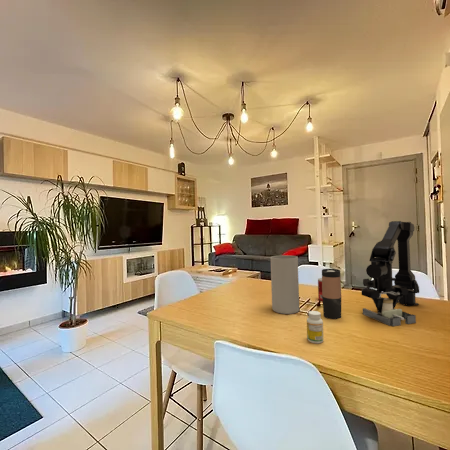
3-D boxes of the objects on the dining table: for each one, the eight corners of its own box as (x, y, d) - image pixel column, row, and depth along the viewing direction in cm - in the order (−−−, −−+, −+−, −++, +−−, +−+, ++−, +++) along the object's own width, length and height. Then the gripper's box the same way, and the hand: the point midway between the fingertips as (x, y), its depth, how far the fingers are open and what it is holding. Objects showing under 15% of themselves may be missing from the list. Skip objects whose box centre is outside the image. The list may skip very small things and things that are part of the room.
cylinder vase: (304, 309, 123) (302, 256, 123) (291, 316, 113) (289, 259, 113) (280, 304, 131) (279, 254, 131) (267, 310, 122) (265, 257, 122)
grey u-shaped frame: (385, 311, 116) (385, 304, 116) (417, 322, 102) (416, 315, 102) (362, 314, 114) (362, 307, 114) (391, 326, 99) (391, 318, 99)
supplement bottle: (320, 345, 86) (319, 316, 86) (304, 341, 90) (303, 313, 90) (325, 339, 90) (324, 312, 90) (310, 335, 94) (309, 309, 94)
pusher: (399, 317, 108) (399, 308, 108) (412, 322, 102) (412, 313, 102) (382, 319, 106) (381, 311, 106) (394, 324, 100) (393, 315, 100)
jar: (385, 312, 113) (384, 296, 113) (397, 317, 107) (396, 300, 107) (374, 313, 112) (373, 298, 112) (385, 318, 106) (384, 301, 106)
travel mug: (341, 314, 115) (339, 268, 115) (342, 320, 107) (341, 272, 107) (322, 312, 117) (321, 268, 117) (323, 318, 110) (321, 271, 110)
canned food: (336, 302, 131) (335, 280, 131) (319, 302, 133) (319, 280, 132) (333, 298, 138) (332, 277, 138) (317, 298, 140) (316, 277, 140)
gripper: (386, 270, 119) (387, 304, 119) (351, 273, 115) (352, 308, 115) (408, 274, 108) (409, 311, 108) (371, 278, 104) (372, 316, 104)
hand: (385, 311), depth 109 cm, fingers closed on jar, 5 cm apart
